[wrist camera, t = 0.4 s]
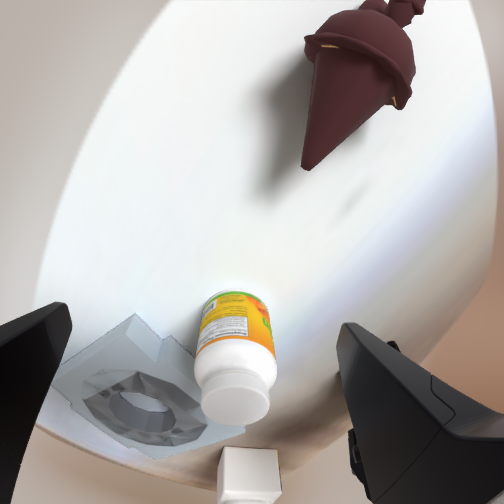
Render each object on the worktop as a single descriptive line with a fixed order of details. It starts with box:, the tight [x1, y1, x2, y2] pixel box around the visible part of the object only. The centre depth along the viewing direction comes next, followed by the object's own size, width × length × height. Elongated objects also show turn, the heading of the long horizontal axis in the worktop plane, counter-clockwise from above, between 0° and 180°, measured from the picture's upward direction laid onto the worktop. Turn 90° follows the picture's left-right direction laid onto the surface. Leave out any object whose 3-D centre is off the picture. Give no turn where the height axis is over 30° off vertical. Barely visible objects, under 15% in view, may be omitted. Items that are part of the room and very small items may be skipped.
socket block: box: [51, 313, 246, 460], centre depth 27 cm, size 16×16×3 cm
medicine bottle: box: [217, 446, 282, 504], centre depth 29 cm, size 7×7×12 cm
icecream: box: [301, 0, 426, 171], centre depth 15 cm, size 7×7×15 cm
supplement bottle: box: [194, 289, 277, 426], centre depth 20 cm, size 5×5×10 cm
